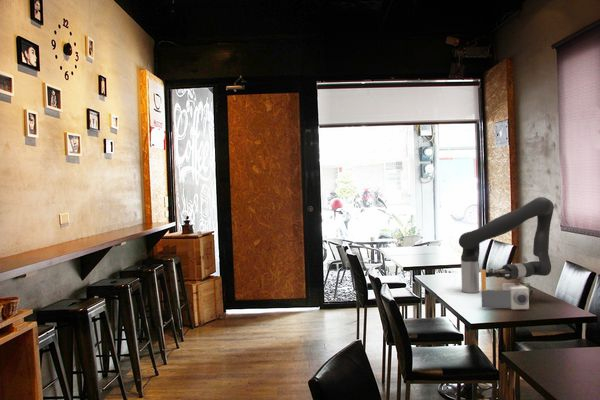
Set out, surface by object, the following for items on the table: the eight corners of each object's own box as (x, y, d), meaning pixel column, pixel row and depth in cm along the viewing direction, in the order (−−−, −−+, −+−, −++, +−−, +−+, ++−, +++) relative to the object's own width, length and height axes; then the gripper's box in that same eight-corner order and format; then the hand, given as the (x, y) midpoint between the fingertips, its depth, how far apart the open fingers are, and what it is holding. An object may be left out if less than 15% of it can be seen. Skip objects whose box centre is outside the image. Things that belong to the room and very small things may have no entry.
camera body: (502, 303, 251) (502, 281, 251) (519, 302, 251) (518, 281, 251) (513, 310, 237) (513, 287, 237) (530, 310, 237) (530, 287, 237)
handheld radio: (511, 302, 253) (528, 293, 272) (518, 303, 251) (534, 294, 270) (511, 289, 253) (528, 280, 271) (518, 290, 251) (534, 281, 269)
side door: (482, 307, 241) (481, 270, 241) (481, 307, 243) (481, 269, 242) (510, 308, 238) (510, 270, 238) (510, 307, 239) (509, 269, 239)
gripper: (504, 262, 254) (475, 265, 248) (523, 265, 241) (494, 269, 235) (504, 276, 254) (476, 280, 248) (524, 281, 241) (494, 285, 236)
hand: (485, 274), depth 242 cm, fingers closed
